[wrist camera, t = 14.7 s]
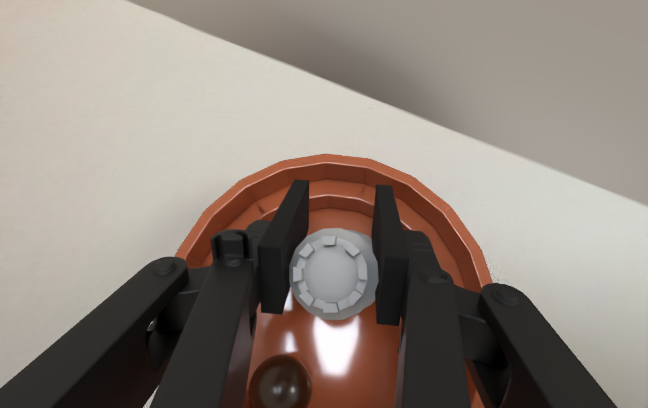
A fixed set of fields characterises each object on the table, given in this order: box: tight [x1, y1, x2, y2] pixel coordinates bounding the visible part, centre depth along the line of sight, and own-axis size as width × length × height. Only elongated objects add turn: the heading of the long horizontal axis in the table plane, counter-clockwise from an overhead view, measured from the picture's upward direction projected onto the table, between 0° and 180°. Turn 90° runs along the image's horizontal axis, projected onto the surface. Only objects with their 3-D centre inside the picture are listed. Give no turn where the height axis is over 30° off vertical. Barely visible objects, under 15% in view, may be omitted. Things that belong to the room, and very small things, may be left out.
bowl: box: [175, 154, 493, 408], centre depth 17 cm, size 15×15×4 cm
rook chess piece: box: [289, 228, 379, 320], centre depth 15 cm, size 4×4×8 cm
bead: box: [249, 355, 312, 408], centre depth 16 cm, size 3×3×3 cm
